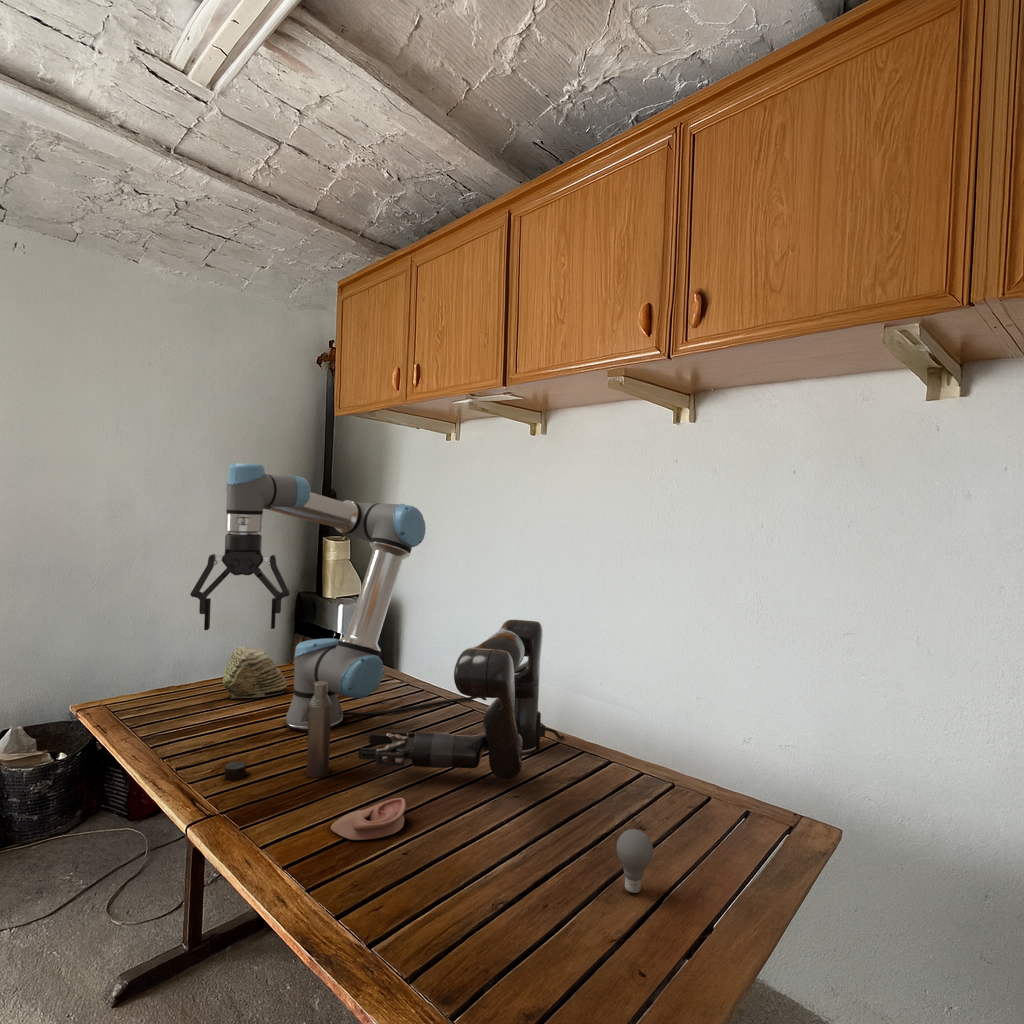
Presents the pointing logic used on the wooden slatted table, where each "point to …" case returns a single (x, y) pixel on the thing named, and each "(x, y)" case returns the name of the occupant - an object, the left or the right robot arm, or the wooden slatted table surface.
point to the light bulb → (634, 857)
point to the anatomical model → (372, 821)
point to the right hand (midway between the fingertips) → (364, 745)
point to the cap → (235, 770)
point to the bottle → (319, 731)
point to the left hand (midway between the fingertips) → (240, 628)
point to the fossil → (252, 674)
